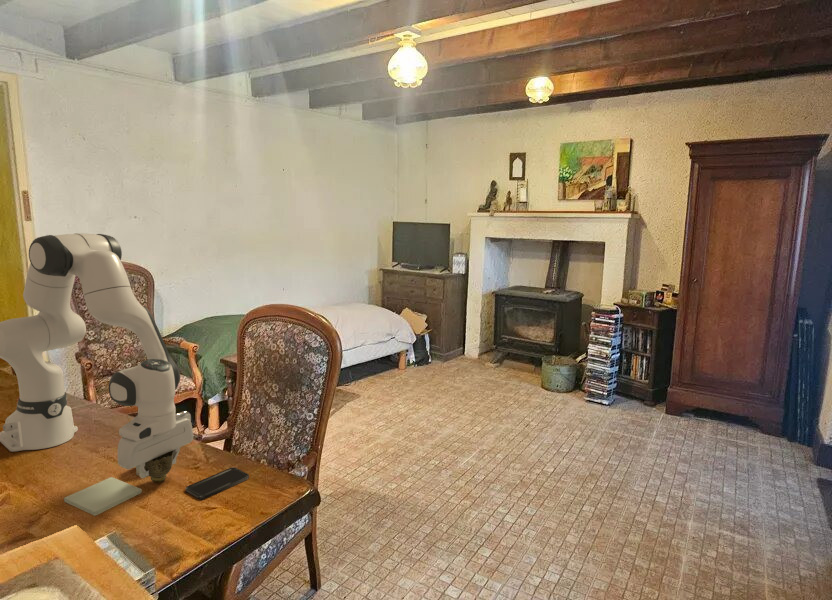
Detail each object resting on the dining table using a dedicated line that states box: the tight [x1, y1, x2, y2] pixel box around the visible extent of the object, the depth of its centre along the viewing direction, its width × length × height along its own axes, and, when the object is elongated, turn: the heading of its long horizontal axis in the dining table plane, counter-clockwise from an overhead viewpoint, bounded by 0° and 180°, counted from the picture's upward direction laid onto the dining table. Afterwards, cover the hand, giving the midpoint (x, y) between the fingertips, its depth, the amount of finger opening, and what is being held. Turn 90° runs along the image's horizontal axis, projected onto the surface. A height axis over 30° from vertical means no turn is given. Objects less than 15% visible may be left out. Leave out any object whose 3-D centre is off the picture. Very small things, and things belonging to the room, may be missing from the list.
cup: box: [144, 450, 174, 484], centre depth 136 cm, size 8×7×8 cm
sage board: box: [63, 476, 142, 517], centre depth 128 cm, size 12×12×1 cm
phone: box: [185, 466, 250, 501], centre depth 137 cm, size 8×1×15 cm
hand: (158, 470), depth 136 cm, fingers closed on cup, 7 cm apart
